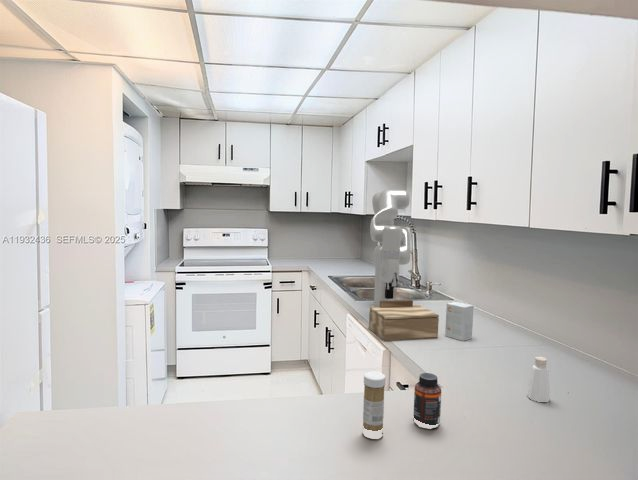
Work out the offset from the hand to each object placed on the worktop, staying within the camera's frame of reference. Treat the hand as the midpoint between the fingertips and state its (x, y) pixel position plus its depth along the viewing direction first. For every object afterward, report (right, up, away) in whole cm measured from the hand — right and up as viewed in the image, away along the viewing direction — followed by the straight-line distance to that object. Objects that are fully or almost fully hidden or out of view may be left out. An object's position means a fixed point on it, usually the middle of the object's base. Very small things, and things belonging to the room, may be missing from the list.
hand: (389, 298), depth 176 cm
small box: (+24, -13, -15) cm, 32 cm away
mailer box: (+3, -12, -12) cm, 18 cm away
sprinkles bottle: (-18, -18, -87) cm, 90 cm away
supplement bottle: (-5, -18, -81) cm, 83 cm away
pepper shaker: (+28, -17, -67) cm, 74 cm away
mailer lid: (+3, -4, -13) cm, 14 cm away
